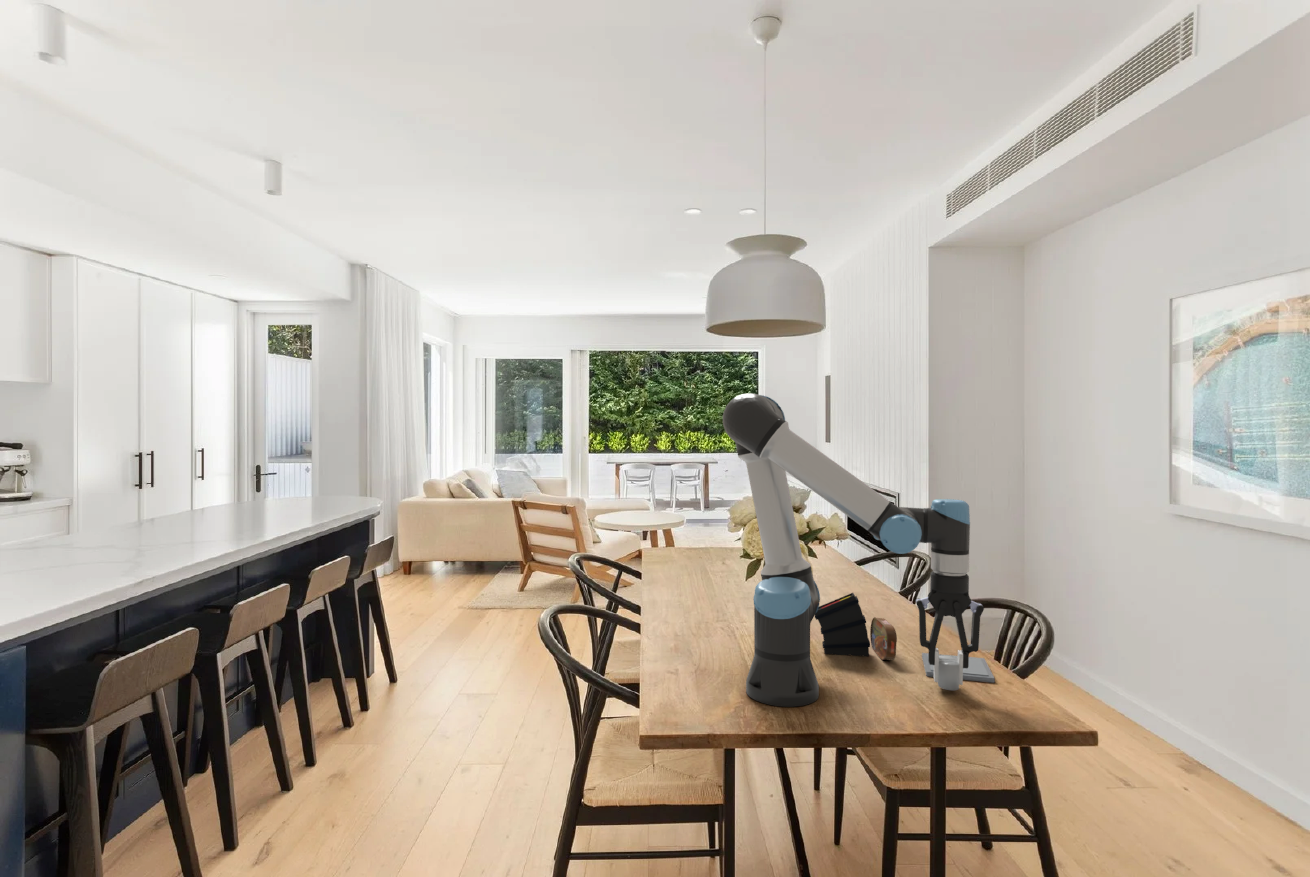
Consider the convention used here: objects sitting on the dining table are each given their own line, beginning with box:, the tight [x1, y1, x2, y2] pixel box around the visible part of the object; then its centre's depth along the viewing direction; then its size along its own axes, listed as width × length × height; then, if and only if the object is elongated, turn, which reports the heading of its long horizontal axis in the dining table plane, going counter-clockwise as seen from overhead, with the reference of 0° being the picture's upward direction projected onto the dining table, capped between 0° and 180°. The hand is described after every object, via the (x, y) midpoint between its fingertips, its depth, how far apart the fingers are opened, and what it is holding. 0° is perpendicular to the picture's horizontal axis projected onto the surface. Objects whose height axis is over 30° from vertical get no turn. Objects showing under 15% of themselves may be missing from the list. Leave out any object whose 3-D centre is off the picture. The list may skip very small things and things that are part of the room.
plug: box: [937, 656, 960, 691], centre depth 147 cm, size 4×9×5 cm, turn 163°
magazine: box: [814, 592, 871, 657], centre depth 171 cm, size 4×13×15 cm, turn 78°
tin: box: [869, 616, 898, 661], centre depth 170 cm, size 15×3×8 cm, turn 177°
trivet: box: [921, 652, 996, 684], centre depth 159 cm, size 14×14×1 cm
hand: (947, 680), depth 146 cm, fingers closed on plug, 4 cm apart
